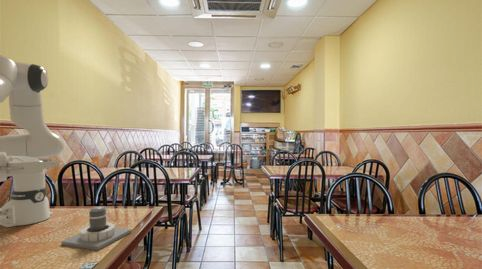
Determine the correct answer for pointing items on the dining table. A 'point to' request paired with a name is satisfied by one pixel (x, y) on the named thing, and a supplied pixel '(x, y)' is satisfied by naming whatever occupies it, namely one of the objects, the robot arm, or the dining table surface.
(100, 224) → the lens
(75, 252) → the dining table surface
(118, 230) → the mount
